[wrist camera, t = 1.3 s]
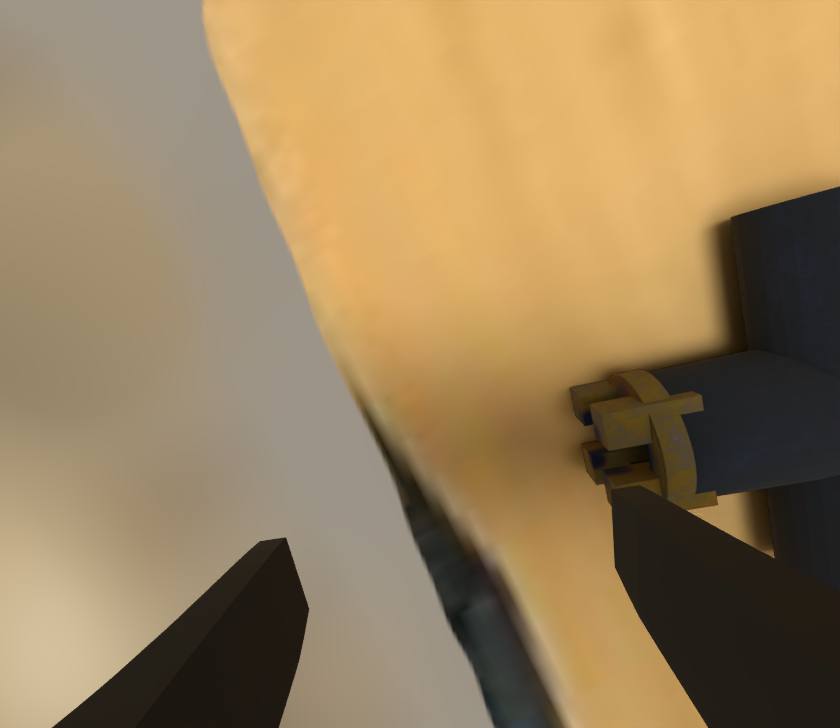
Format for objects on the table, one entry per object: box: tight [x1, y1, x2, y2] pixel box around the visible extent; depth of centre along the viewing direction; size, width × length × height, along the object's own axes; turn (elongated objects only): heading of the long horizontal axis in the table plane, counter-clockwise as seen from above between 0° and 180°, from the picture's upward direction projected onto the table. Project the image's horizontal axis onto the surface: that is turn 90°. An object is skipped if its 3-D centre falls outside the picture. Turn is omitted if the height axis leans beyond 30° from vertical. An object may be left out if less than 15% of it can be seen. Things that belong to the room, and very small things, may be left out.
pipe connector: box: [570, 187, 840, 591], centre depth 15 cm, size 12×5×15 cm
